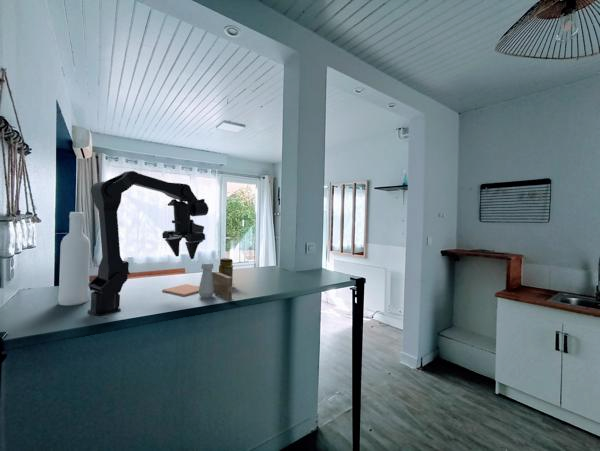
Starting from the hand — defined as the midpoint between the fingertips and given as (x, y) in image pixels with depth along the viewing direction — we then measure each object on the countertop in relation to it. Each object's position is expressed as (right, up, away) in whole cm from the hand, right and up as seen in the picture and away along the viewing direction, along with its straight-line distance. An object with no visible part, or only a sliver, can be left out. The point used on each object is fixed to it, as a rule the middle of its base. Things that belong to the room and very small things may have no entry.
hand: (184, 257), depth 109 cm
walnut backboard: (+13, -15, +2) cm, 20 cm away
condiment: (+11, -15, +16) cm, 25 cm away
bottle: (-31, -13, -15) cm, 37 cm away
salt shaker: (+9, -15, -2) cm, 17 cm away
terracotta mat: (-2, -14, +5) cm, 15 cm away
